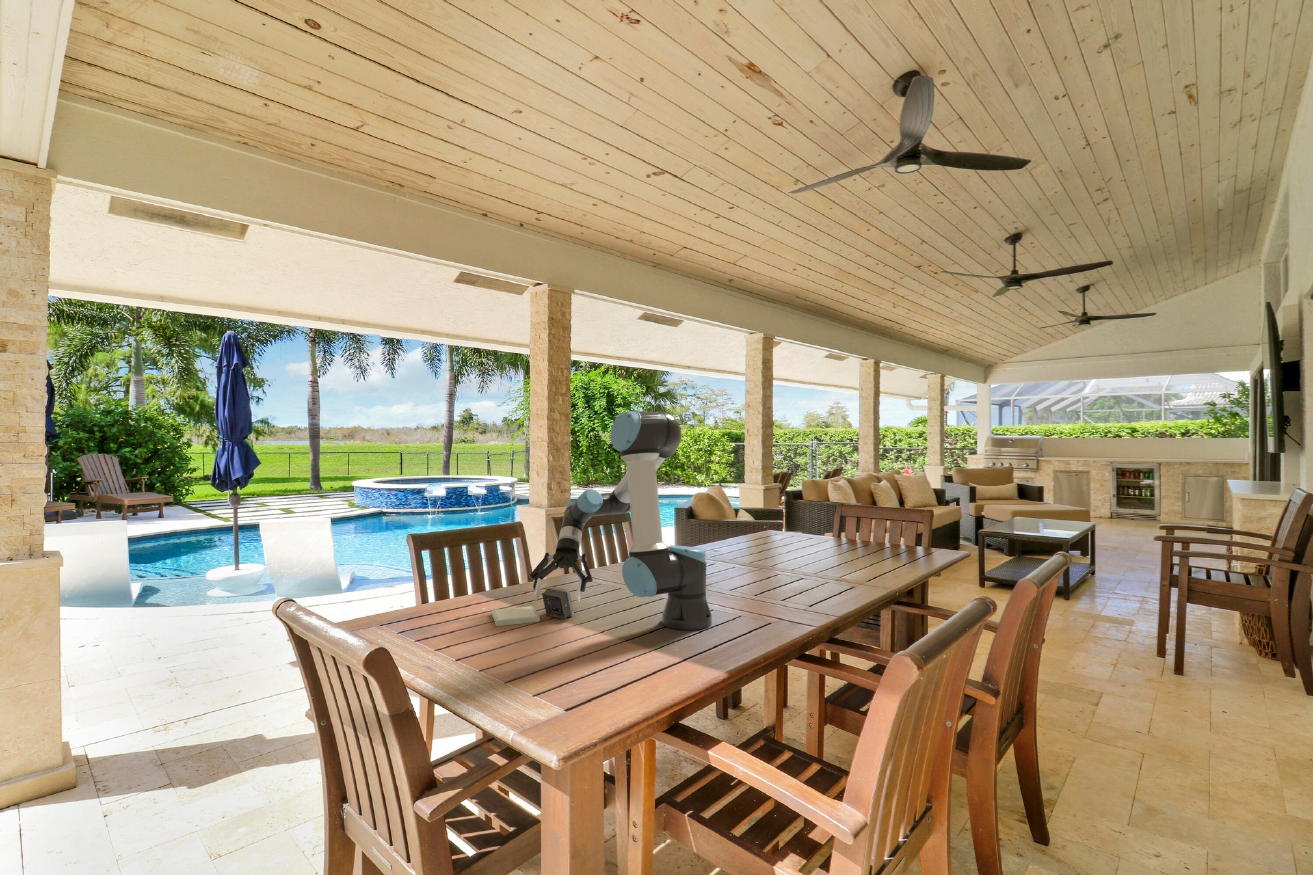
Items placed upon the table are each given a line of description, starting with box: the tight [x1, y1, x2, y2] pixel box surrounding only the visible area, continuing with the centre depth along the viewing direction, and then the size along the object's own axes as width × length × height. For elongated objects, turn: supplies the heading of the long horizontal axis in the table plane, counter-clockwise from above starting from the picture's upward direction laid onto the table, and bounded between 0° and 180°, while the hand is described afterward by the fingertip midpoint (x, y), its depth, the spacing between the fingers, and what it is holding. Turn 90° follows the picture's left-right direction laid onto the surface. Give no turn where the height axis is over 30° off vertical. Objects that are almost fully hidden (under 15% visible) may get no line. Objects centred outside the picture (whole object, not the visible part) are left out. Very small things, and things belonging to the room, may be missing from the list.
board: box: [490, 605, 541, 627], centre depth 194 cm, size 13×13×2 cm
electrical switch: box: [541, 585, 575, 620], centre depth 196 cm, size 9×5×9 cm, turn 57°
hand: (556, 599), depth 194 cm, fingers open, 13 cm apart
